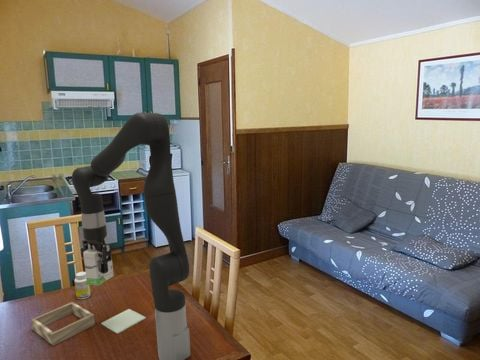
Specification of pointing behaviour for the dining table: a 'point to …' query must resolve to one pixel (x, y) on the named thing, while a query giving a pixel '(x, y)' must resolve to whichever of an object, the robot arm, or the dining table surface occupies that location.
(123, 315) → the sage mat
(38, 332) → the frame
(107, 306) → the dining table surface
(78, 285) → the supplement bottle
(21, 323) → the dining table surface
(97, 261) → the ink box
